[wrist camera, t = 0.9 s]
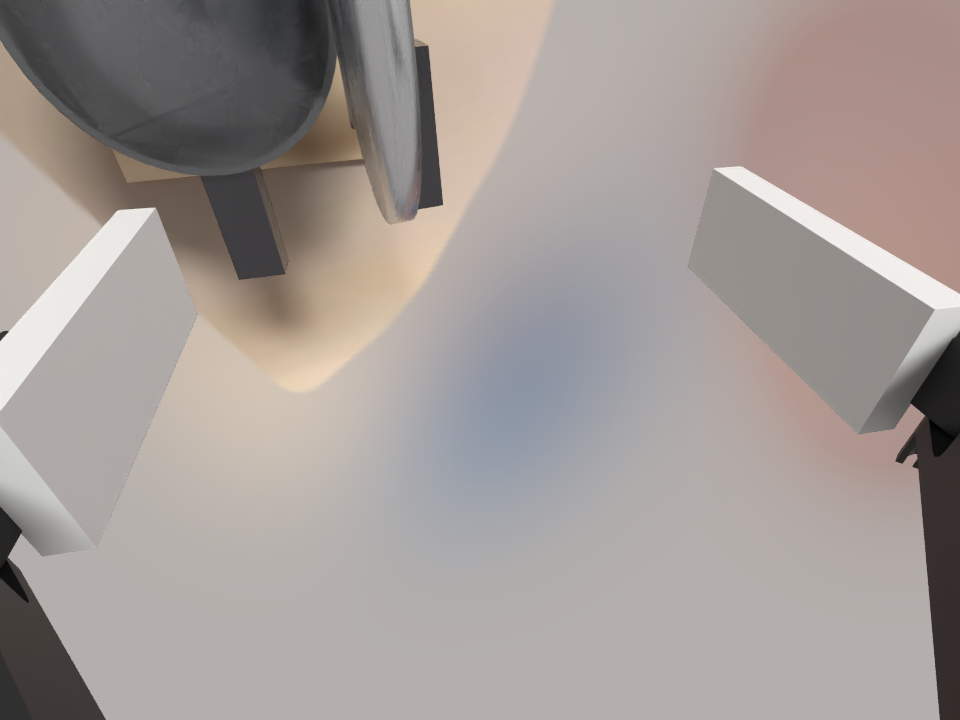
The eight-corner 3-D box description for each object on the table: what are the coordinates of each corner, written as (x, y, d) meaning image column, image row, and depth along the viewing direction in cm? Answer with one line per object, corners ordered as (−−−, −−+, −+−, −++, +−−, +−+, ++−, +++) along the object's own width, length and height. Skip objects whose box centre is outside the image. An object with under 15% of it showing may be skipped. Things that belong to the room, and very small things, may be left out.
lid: (314, -453, 9) (463, -438, 9) (284, -226, 20) (352, -226, 21) (417, 291, 18) (490, 276, 18) (356, 158, 29) (402, 151, 30)
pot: (-40, -262, 24) (-203, -347, 17) (314, -268, 26) (298, -347, 19) (174, 233, 39) (134, 296, 32) (389, 209, 41) (396, 263, 34)
